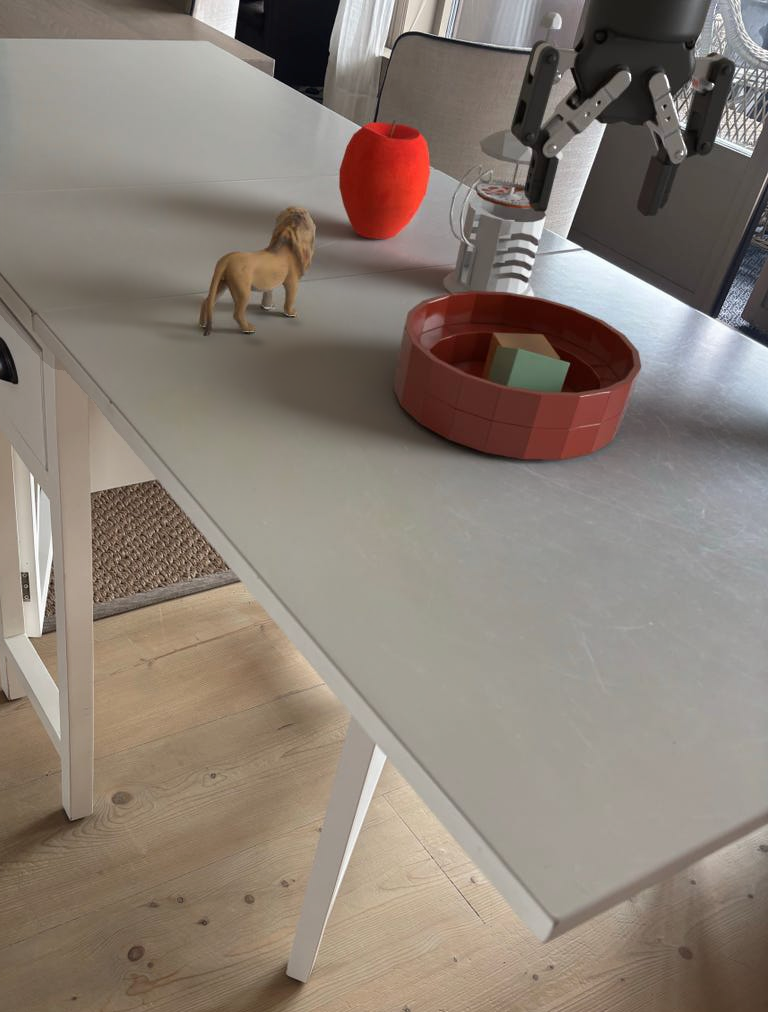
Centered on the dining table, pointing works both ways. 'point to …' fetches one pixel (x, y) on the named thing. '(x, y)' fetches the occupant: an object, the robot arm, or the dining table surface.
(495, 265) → the french press
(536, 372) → the block
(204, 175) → the dining table surface
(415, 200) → the apple
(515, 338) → the block
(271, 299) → the lion figurine
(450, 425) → the red shallow bowl
